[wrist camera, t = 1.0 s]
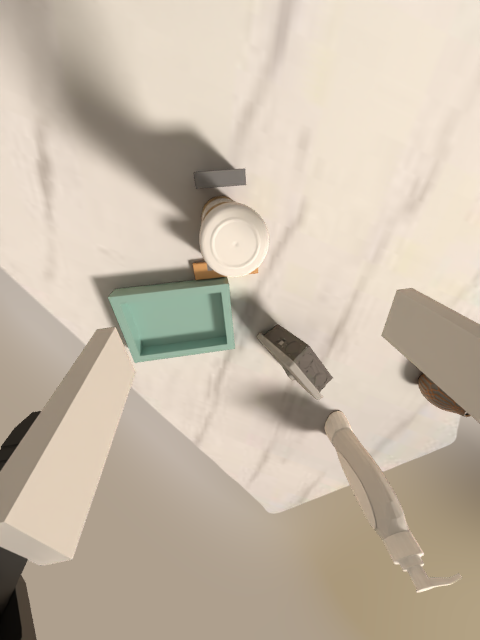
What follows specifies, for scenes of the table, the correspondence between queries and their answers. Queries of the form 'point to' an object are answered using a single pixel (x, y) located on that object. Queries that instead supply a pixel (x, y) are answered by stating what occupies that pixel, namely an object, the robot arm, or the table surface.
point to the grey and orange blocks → (209, 181)
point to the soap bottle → (379, 502)
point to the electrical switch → (296, 360)
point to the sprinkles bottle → (232, 237)
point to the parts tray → (175, 318)
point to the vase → (439, 396)
